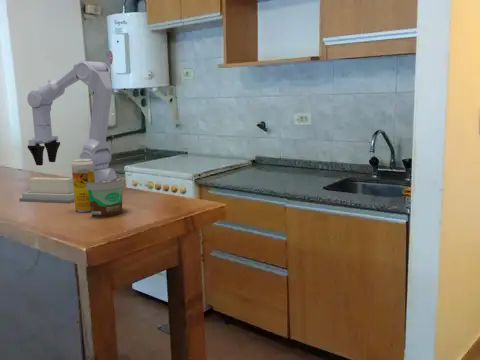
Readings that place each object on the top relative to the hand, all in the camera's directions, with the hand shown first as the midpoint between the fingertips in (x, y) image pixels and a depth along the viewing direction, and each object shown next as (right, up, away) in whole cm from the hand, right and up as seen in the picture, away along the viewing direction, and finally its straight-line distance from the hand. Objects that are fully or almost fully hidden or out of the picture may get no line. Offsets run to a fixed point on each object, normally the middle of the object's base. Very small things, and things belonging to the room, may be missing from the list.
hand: (46, 163), depth 176 cm
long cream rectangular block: (+8, -11, -14) cm, 20 cm away
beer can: (+24, -15, -30) cm, 41 cm away
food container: (+33, -16, -35) cm, 50 cm away
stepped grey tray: (+8, -12, -14) cm, 20 cm away
